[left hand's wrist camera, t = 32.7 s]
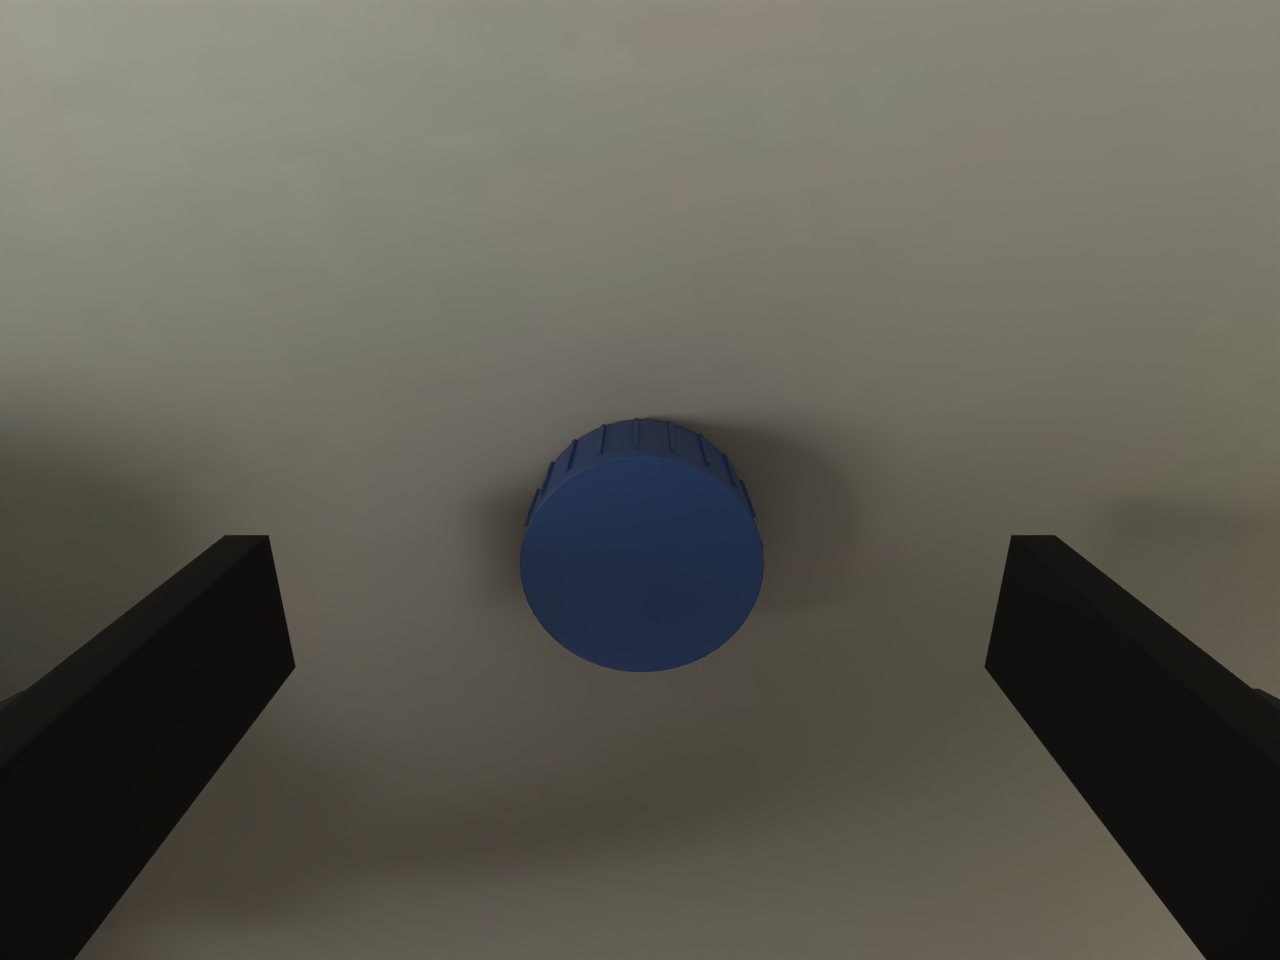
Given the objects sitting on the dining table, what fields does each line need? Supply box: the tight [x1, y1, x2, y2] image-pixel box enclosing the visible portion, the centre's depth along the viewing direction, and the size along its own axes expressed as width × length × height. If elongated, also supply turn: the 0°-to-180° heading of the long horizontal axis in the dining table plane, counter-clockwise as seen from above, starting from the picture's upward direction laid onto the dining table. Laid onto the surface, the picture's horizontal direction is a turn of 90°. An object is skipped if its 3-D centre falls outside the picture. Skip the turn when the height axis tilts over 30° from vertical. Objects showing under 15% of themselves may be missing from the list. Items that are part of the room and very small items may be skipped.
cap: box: [520, 418, 764, 672], centre depth 14 cm, size 5×5×2 cm
